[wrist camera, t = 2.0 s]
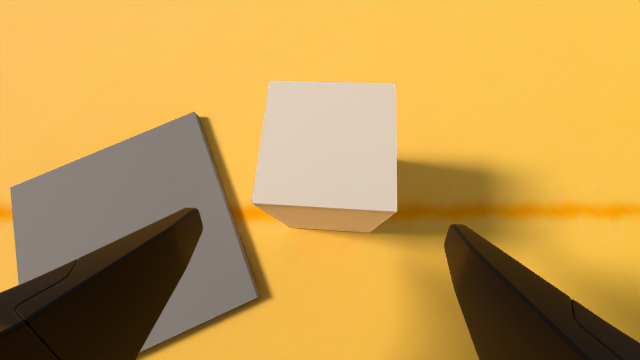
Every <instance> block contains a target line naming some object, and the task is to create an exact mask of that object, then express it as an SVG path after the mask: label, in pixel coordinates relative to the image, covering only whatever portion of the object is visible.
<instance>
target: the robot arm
mask: <svg viewBox="0 0 640 360" xmlns="http://www.w3.org/2000/svg"><path fill="white" fill-rule="evenodd" d="M202 232H203V223H202V220H201V216H200V212H199V210H198V209H197V208H190V207H186V208H184V209H181V210H179V211H177V212H175V213H173V214H171V215H169V216H167V217H164V218H162V219H160V220H158V221H156V222H154V223H152V224H150V225H148V226H145V227H143V228H141V229H139V230H137V231H135V232H133V233H131V234H128V235H126V236H124V237H122V238H120V239H118V240H116V241H114V242H111V243H109V244H107V245H105V246H103V247H101V248H99V249H97V250H95V251H92V252H90V253H88V254H86V255H84V256H82V257H80V258H79V259H75V260H73V261H71V262H69V263H67V264H65V265H63V266H60V267H58V268H56V269H54V270H52V271H49V272H47V273H45V274H43V275H41V276H38V277H36V278H34V279H32V280H29V281H27V282H25V283H22V284H20V285H18V286H15V287H13V288H11V289H8V290H6V291H3V292H1V293H0V360H135V359H136V358H137V356H138V354H139V352H140V351H141V349H142V347H143V345H144V343H145V342H146V340H147V338H148V336H149V335H150V333H151V331H152V329H153V327H154V326H155V324H156V322H157V320H158V319H159V317H160V315H161V313H162V311H163V310H164V308H165V306H166V304H167V303H168V301H169V299H170V297H171V295H172V294H173V292H174V290H175V288H176V287H177V285H178V283H179V281H180V279H181V278H182V276H183V274H184V272H185V270H186V268H187V266H188V264H189V262H190V260H191V257H192V255H193V253H194V250H195V248H196V246H197V243H198V241H199V239H200V236H201V234H202ZM444 248H445V253H446V257H447V261H448V266H449V270H450V274H451V278H452V283H453V286H454V290H455V293H456V296H457V299H458V302H459V304H460V307H461V310H462V313H463V316H464V318H465V321H466V324H467V327H468V329H469V332H470V335H471V338H472V341H473V343H474V346H475V349H476V352H477V354H478V357H479V360H640V343H639V342H637V341H636V340H634V339H633V338H631V337H629V336H628V335H626V334H625V333H623V332H621V331H620V330H618V329H617V328H615V327H613V326H612V325H610V324H609V323H607V322H606V321H604V320H603V319H601V318H600V317H598V316H597V315H595V314H594V313H592V312H591V311H589V310H588V309H587V308H585V307H584V306H582V305H581V304H579V303H578V302H576V301H575V300H573V299H572V300H571V298H570V297H569V296H568V295H566V294H565V293H563V292H562V291H560V290H559V289H557V288H556V287H554V286H553V285H551V284H550V283H549V282H547V281H546V280H544V279H543V278H541V277H540V276H538V275H537V274H535V273H534V272H532V271H531V270H530V269H528V268H527V267H525V266H524V265H522V264H521V263H519V262H518V261H516V260H515V259H514V258H512V257H511V256H509V255H508V254H506V253H505V252H503V251H502V250H500V249H499V248H497V247H496V246H495V245H493V244H492V243H490V242H489V241H487V240H486V239H484V238H483V237H481V236H480V235H478V234H477V233H476V232H474V231H473V230H471V229H470V228H468V227H467V226H465V225H462V224H452V225H450V227H449V230H448V233H447V236H446V239H445V243H444Z"/></svg>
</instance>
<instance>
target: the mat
mask: <svg viewBox="0 0 640 360" xmlns="http://www.w3.org/2000/svg"><path fill="white" fill-rule="evenodd" d="M10 189H11V201H12V212H13V224H14V235H15V246H16V258H17V269H18V281H19V285H20V284H22V283H25V282H27V281H29V280H32V279H34V278H36V277H38V276H41V275H43V274H45V273H47V272H49V271H52V270H54V269H56V268H58V267H60V266H63V265H65V264H67V263H69V262H71V261H73V260H75V259H79V258H80V257H82V256H84V255H86V254H88V253H90V252H92V251H95V250H97V249H99V248H101V247H103V246H105V245H107V244H109V243H111V242H114V241H116V240H118V239H120V238H122V237H124V236H126V235H128V234H131V233H133V232H135V231H137V230H139V229H141V228H143V227H145V226H148V225H150V224H152V223H154V222H156V221H158V220H160V219H162V218H164V217H167V216H169V215H171V214H173V213H175V212H177V211H179V210H181V209H184V208H186V207H190V208H197V209H198V210H199V212H200V216H201V220H202V223H203V232H202V234H201V236H200V239H199V241H198V243H197V246H196V248H195V250H194V253H193V255H192V257H191V260H190V262H189V264H188V266H187V268H186V270H185V272H184V274H183V276H182V278H181V279H180V281H179V283H178V285H177V287H176V288H175V290H174V292H173V294H172V295H171V297H170V299H169V301H168V303H167V304H166V306H165V308H164V310H163V311H162V313H161V315H160V317H159V319H158V320H157V322H156V324H155V326H154V327H153V329H152V331H151V333H150V335H149V336H148V338H147V340H146V342H145V343H144V345H143V347H142V349H141V351H144V350H146V349H148V348H150V347H152V346H154V345H156V344H159V343H161V342H163V341H165V340H167V339H169V338H171V337H174V336H176V335H178V334H180V333H182V332H184V331H186V330H189V329H191V328H193V327H195V326H197V325H199V324H202V323H204V322H206V321H208V320H210V319H212V318H214V317H217V316H219V315H221V314H223V313H225V312H227V311H229V310H232V309H234V308H236V307H238V306H240V305H242V304H244V303H247V302H249V301H251V300H253V299H255V298H257V297H259V296H260V293H259V291H258V288H257V285H256V282H255V279H254V276H253V273H252V270H251V267H250V264H249V261H248V259H247V256H246V253H245V250H244V247H243V244H242V241H241V238H240V235H239V232H238V229H237V227H236V224H235V221H234V218H233V215H232V212H231V209H230V206H229V203H228V200H227V197H226V195H225V192H224V189H223V186H222V183H221V180H220V177H219V174H218V171H217V168H216V165H215V163H214V160H213V157H212V154H211V151H210V148H209V145H208V142H207V139H206V136H205V134H204V131H203V128H202V125H201V122H200V119H199V116H198V115H197V114H196V113H195V112H192V113H190V114H188V115H185V116H183V117H180V118H178V119H175V120H173V121H171V122H168V123H166V124H163V125H161V126H158V127H156V128H154V129H151V130H149V131H146V132H144V133H142V134H139V135H137V136H134V137H132V138H129V139H127V140H125V141H122V142H120V143H117V144H115V145H112V146H110V147H108V148H105V149H103V150H100V151H98V152H96V153H93V154H91V155H88V156H86V157H83V158H81V159H79V160H76V161H74V162H71V163H69V164H66V165H64V166H62V167H59V168H57V169H54V170H52V171H50V172H47V173H45V174H42V175H40V176H37V177H35V178H33V179H30V180H28V181H25V182H23V183H21V184H18V185H16V186H13V187H11V188H10ZM141 351H140V352H141Z"/></svg>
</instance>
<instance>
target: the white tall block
mask: <svg viewBox="0 0 640 360" xmlns="http://www.w3.org/2000/svg"><path fill="white" fill-rule="evenodd" d="M252 203H253V204H254V205H256V206H257V207H259V208H260V209H262V210H263V211H265V212H267V213H268V214H270V215H271V216H273V217H274V218H276V219H278V220H279V221H281V222H282V223H284V224H285V225H287V226H288V227H290V228H306V229H321V230H336V231H351V232H366V233H370V232H371V231H372V230H374V229H375V228H376V227H378V226H379V225H380V224H382V223H383V222H384V221H385V220H387V219H388V218H389V217H391V216H392V215H393V214H395V213H396V212H397V137H396V84H389V83H345V82H301V81H269V87H268V94H267V101H266V108H265V115H264V121H263V128H262V135H261V142H260V149H259V156H258V163H257V170H256V177H255V184H254V190H253V197H252Z"/></svg>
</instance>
